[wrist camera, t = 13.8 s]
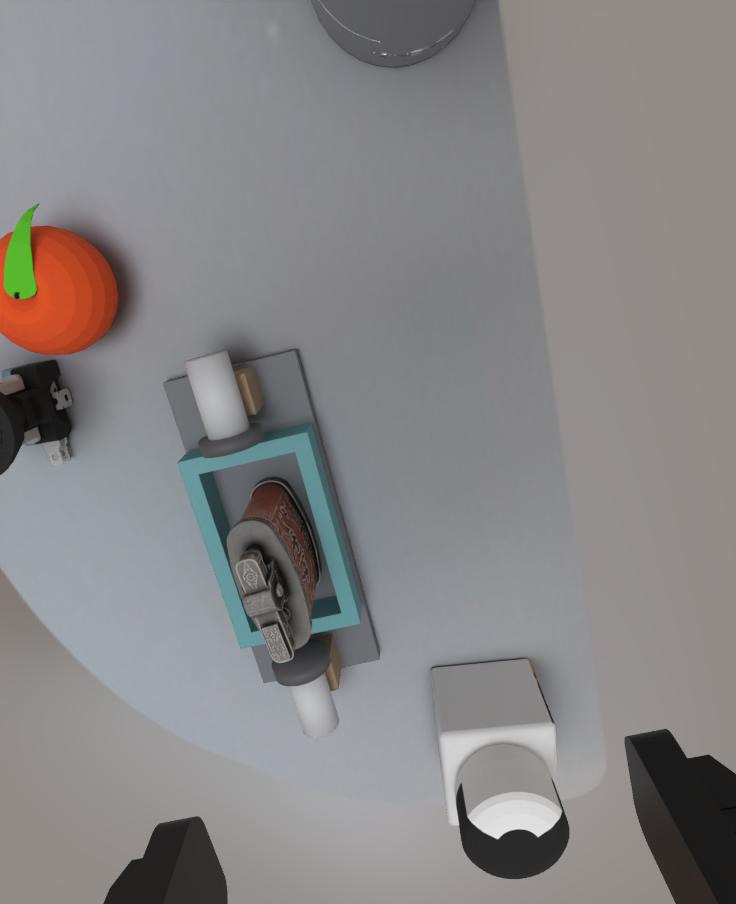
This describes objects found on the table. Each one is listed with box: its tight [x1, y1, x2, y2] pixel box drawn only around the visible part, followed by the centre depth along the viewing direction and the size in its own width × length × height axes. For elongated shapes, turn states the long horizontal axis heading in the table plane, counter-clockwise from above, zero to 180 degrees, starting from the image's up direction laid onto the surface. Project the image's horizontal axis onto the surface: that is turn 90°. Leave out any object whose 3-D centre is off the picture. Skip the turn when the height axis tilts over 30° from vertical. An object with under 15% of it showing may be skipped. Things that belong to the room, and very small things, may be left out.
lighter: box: [227, 476, 322, 663], centre depth 37 cm, size 8×3×10 cm, turn 18°
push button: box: [0, 360, 72, 475], centre depth 36 cm, size 7×5×10 cm
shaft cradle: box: [163, 349, 380, 738], centre depth 39 cm, size 24×8×7 cm, turn 14°
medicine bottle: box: [430, 659, 569, 879], centre depth 41 cm, size 7×7×12 cm
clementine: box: [0, 204, 118, 355], centre depth 35 cm, size 8×7×7 cm
